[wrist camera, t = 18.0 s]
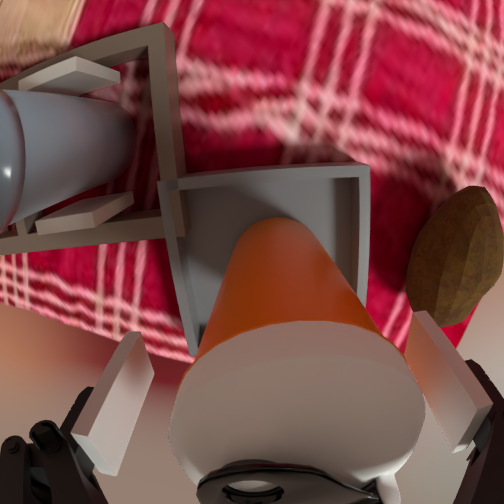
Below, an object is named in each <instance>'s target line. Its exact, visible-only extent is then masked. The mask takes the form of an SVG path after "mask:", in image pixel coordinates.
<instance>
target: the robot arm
mask: <svg viewBox="0 0 504 504" xmlns="http://www.w3.org/2000/svg"><path fill="white" fill-rule="evenodd" d="M404 357H405V359H406V361H407V363H408V365H409V367H410V369H411V371H412V373H413V374H414V376H415V378H416V380H417V382H418V384H419V386H420V388H421V390H422V392H423V394H424V396H425V398H426V400H427V402H428V404H429V406H430V408H431V410H432V412H433V414H434V416H435V418H436V420H437V422H438V424H439V426H440V428H441V430H442V433H443V434H444V437H445V439H446V441H447V443H448V446H449V448H450V450H451V452H452V453H455V452H458V451H461V450H463V449H466V448H468V446H469V445H470V443H471V441H472V440H473V441H474V443H475V445H476V446H475V447H474V449H473V450H472V452H471V454H470V455H469V457H468V458H467V461H468V460H469V459H470V461H469V464H468V467H467V470H466V473H465V475H464V478H463V480H462V483H461V486H460V488H459V491H458V493H457V496H456V498H455V500H454V502H453V504H504V398H503V397H502V395H501V394H500V393H499V391H498V390H497V388H496V387H495V386H494V384H493V383H492V381H490V378H489V377H488V376H487V374H485V371H484V370H483V369H482V368H481V366H480V365H479V364H477V363H476V362H474V361H473V360H471V359H470V360H466V361H464V360H463V359H462V357H461V356H460V355H459V353H458V352H457V350H456V349H455V348H454V346H453V345H452V343H451V342H450V341H449V339H448V338H447V337H446V335H445V334H444V333H443V332H442V330H441V329H440V328H439V326H438V325H437V324H436V322H435V321H434V320H433V319H432V317H431V316H430V315H429V314H428V312H427V311H426V310H425V311H418V312H413V313H412V319H411V324H410V330H409V335H408V340H407V344H406V349H405V354H404ZM153 376H154V371H153V368H152V365H151V362H150V359H149V356H148V353H147V350H146V347H145V344H144V341H143V338H142V335H141V332H126V334H125V335H124V337H123V339H122V340H121V342H120V344H119V345H118V348H117V349H116V351H115V353H114V354H113V356H112V358H111V359H110V361H109V363H108V364H107V366H106V368H105V370H104V371H103V373H102V375H101V377H100V379H99V381H98V382H97V384H96V386H95V387H87V388H85V389H84V390H83V391H82V392H81V393H80V394H79V395H78V397H77V399H76V401H75V404H73V406H72V407H71V410H70V411H69V413H68V415H67V417H66V418H65V420H64V422H63V424H62V426H61V427H60V429H59V428H58V427H57V425H56V424H55V423H54V422H52V421H50V420H43V421H40V422H38V423H36V424H35V425H34V426H33V427H32V428H31V430H30V432H29V437H30V439H31V440H32V441H33V444H32V443H30V444H27V443H26V442H25V441H24V440H23V438H22V437H20V436H11V437H8V438H7V439H6V440H5V441H4V442H3V444H2V446H1V452H0V504H108V502H107V500H106V498H105V496H104V494H103V492H102V490H101V488H100V486H99V484H98V482H97V479H96V477H95V476H94V474H93V473H92V471H93V468H94V466H96V468H97V469H98V470H99V471H100V473H104V474H108V475H113V476H117V473H118V471H119V468H120V465H121V462H122V460H123V457H124V454H125V451H126V448H127V445H128V442H129V440H130V437H131V434H132V432H133V429H134V426H135V423H136V421H137V418H138V415H139V413H140V410H141V407H142V405H143V402H144V399H145V397H146V394H147V391H148V389H149V387H150V384H151V381H152V379H153Z"/></svg>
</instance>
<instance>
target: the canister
mask: <svg viewBox="0 0 504 504" xmlns="http://www.w3.org/2000/svg"><path fill="white" fill-rule="evenodd" d="M136 146H137V133H136V128H135V125H134V122H133V120H132V118H131V116H130V115H129V113H128V112H127V111H126V110H125V109H124V108H123V107H121V106H120V105H118V104H116V103H114V102H110V101H105V100H98V99H92V98H85V97H78V96H70V95H62V94H53V93H43V92H32V91H20V90H3V89H0V234H1V233H2V232H3V231H4V230H5V229H6V228H7V227H8V226H9V225H11V224H13V223H15V222H17V221H19V220H21V219H23V218H25V217H27V216H29V215H32V214H34V213H36V212H38V211H40V210H43V209H45V208H47V207H49V206H52V205H54V204H56V203H59V202H61V201H63V200H66V199H68V198H70V197H73V196H75V195H78V194H80V193H83V192H85V191H88V190H90V189H93V188H95V187H98V186H101V185H103V184H106V183H108V182H111V181H113V180H115V179H117V178H118V177H120V176H121V175H122V174H123V173H124V172H125V171H126V170H127V168H128V167H129V165H130V164H131V162H132V160H133V157H134V155H135V151H136Z"/></svg>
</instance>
